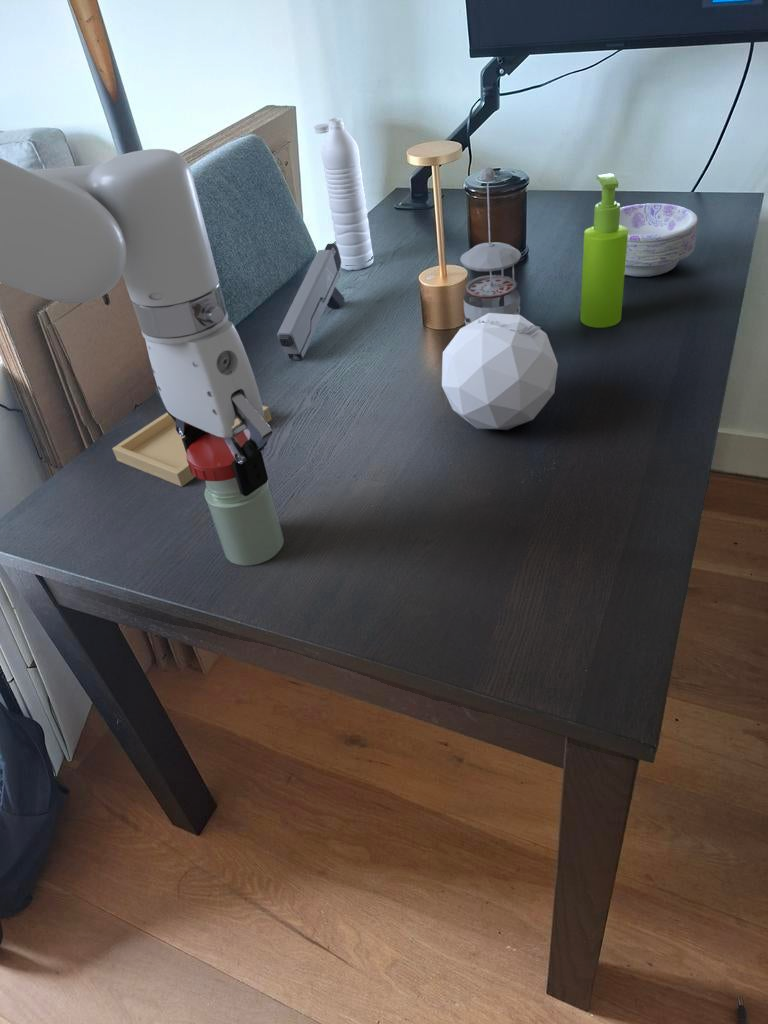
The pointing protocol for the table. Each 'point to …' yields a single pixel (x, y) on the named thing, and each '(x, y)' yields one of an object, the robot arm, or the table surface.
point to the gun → (311, 302)
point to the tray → (161, 450)
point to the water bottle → (346, 195)
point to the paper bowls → (657, 237)
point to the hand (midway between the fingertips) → (229, 474)
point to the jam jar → (244, 522)
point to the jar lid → (212, 457)
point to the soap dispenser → (604, 261)
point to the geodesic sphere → (499, 371)
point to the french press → (491, 286)
